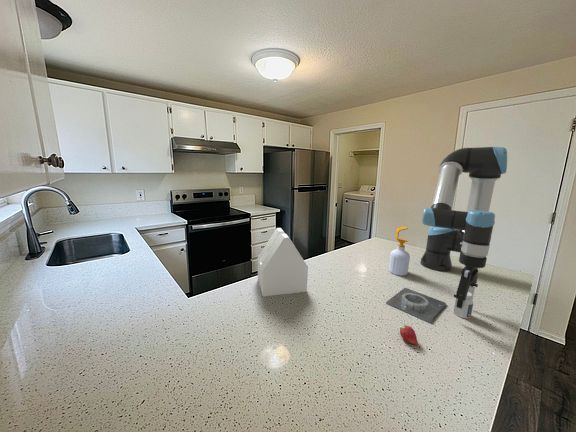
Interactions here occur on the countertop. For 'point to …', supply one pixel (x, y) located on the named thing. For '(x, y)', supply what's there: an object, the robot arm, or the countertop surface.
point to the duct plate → (419, 314)
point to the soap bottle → (399, 257)
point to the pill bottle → (467, 306)
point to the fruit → (408, 334)
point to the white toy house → (281, 267)
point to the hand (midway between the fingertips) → (463, 308)
